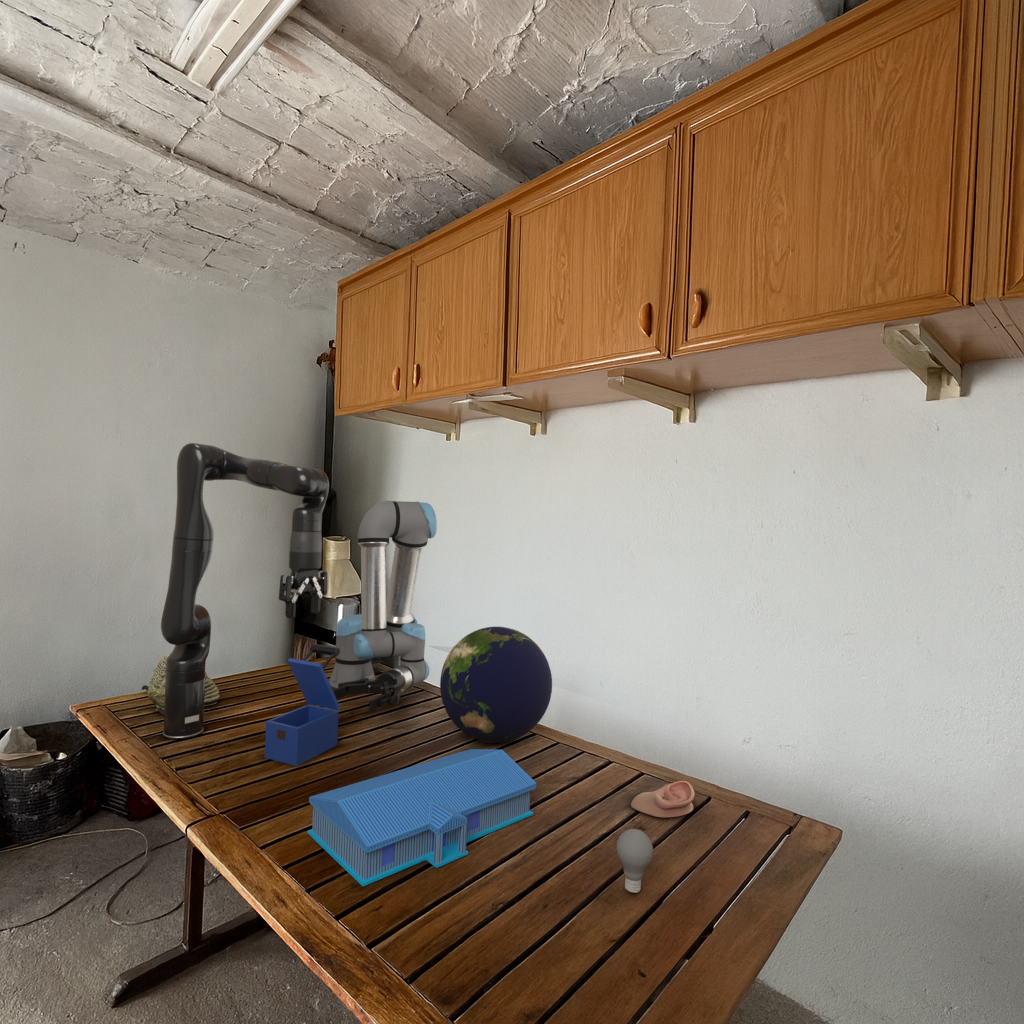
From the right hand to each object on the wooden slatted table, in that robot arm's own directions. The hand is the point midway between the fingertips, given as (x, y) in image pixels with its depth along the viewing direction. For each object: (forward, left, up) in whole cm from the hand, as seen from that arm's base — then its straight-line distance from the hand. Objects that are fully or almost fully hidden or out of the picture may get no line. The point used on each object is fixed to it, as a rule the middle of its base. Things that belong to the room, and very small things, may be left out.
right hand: (349, 701), depth 173 cm
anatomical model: (+39, +76, -8) cm, 86 cm away
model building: (+50, +27, -8) cm, 58 cm away
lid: (+13, -7, +8) cm, 17 cm away
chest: (+16, -8, -8) cm, 19 cm away
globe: (+4, +40, -8) cm, 41 cm away
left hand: (+17, -8, +26) cm, 33 cm away
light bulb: (+69, +63, -8) cm, 94 cm away
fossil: (-13, -51, -8) cm, 53 cm away
